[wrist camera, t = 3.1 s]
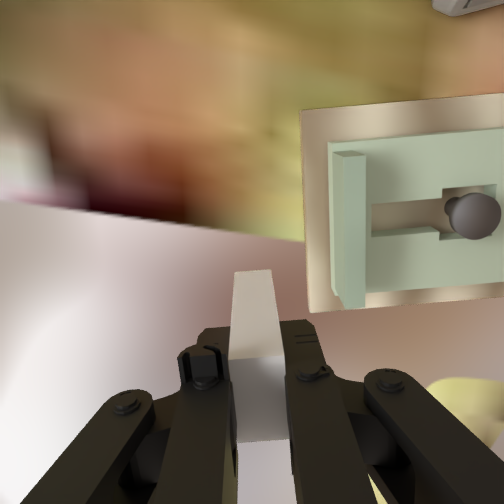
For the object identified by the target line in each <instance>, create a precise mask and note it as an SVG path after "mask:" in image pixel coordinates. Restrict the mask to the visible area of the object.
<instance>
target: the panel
mask: <svg viewBox="0 0 504 504" xmlns="http://www.w3.org/2000/svg"><path fill="white" fill-rule="evenodd" d="M328 182H329V222H330V263H331V288H332V290H333V292H334V294H335V296H339V298H340V300H341V302H342V303H343V305H344V307H345V309H353V308H364V307H365V293H376V292H388V291H400V290H412V289H424V288H436V287H448V286H460V285H472V284H483V283H495V282H504V127H494V128H482V129H470V130H459V131H447V132H436V133H424V134H413V135H401V136H389V137H378V138H366V139H355V140H343V141H331V142H328ZM478 185H484V194H485V195H488V196H490V197H493V198H494V199H495V200H496V201H497V202H498V203H499V205H500V207H501V220H500V223H499V225H498V227H497V228H496V229H495V231H494V232H493V233H491V234H490V235H489V236H487V237H485V238H483V239H479V240H470V239H467V238H464V237H463V236H461V235H459V234H457V233H456V232H455V233H444V234H439V233H440V232H439V231H438V230H436V229H434V228H433V227H431V226H426V227H414V228H402V229H391V230H379V231H371V208H372V204H378V203H390V202H401V201H413V200H425V199H436V198H442V189H443V188H454V187H466V186H478Z"/></svg>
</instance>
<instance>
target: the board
mask: <svg viewBox="0 0 504 504" xmlns="http://www.w3.org/2000/svg"><path fill="white" fill-rule="evenodd" d="M299 116H300V139H301V161H302V184H303V206H304V229H305V252H306V273H307V297H308V308H309V311H310V313H316V312H329V311H340V310H352V309H345V307H344V305H343V303H342V302H341V300H340V298H339V296H335V294H334V292H333V290H332V288H331V263H330V222H329V182H328V142H331V141H343V140H355V139H366V138H378V137H389V136H401V135H413V134H424V133H436V132H447V131H459V130H470V129H482V128H494V127H504V93H495V94H483V95H472V96H460V97H449V98H437V99H426V100H414V101H403V102H391V103H380V104H368V105H357V106H345V107H334V108H322V109H311V110H299ZM500 220H501V207H500V205H499V203H498V202H497V201H496V200H495V199H494V198H493V197H490V196H488V195H485V194H484V185H478V186H466V187H454V188H443V189H442V198H436V199H425V200H413V201H401V202H390V203H378V204H372V208H371V231H379V230H391V229H402V228H414V227H426V226H431V227H433V228H434V229H436V230H438V231H439V232H440V233H439V234H444V233H455V232H456V233H457V234H459V235H461V236H463V237H464V238H467V239H470V240H479V239H483V238H485V237H487V236H489V235H490V234H491V233H493V232H494V231H495V229H496V228H497V227H498V225H499V223H500ZM496 297H504V282H495V283H483V284H472V285H460V286H448V287H436V288H424V289H412V290H400V291H388V292H376V293H365V307H364V308H376V307H388V306H400V305H411V304H424V303H435V302H447V301H460V300H471V299H483V298H496ZM364 308H353V309H364Z"/></svg>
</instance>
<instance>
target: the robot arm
mask: <svg viewBox="0 0 504 504" xmlns="http://www.w3.org/2000/svg"><path fill="white" fill-rule="evenodd" d="M177 360H178V366H179V372H180V379H181V387H180V390H179V391H178V392H176V393H174V394H172V395H169V396H167V397H164V398H160V399H157V400H153V399H152V395H151V394H150V393H148V392H147V391H144V390H140V389H137V390H127V391H123V392H120V393H118V394H116V395H114V396H112V397H111V398H110V399H108V400H107V401H106V402H105V403H104V404H103V405H102V406H101V408H100V409H99V410H98V411H97V412H96V414H95V415H94V416H93V417H92V419H91V420H90V421H89V422H88V423H87V424H86V426H85V427H84V428H83V429H82V430H81V431H80V433H79V434H78V435H77V436H76V438H75V439H74V440H73V441H72V442H71V443H70V445H69V446H68V447H67V448H66V449H65V451H64V452H63V453H62V454H61V455H60V457H59V458H58V459H57V460H56V461H55V462H54V464H53V465H52V466H51V467H50V468H49V470H48V471H47V472H46V473H45V475H44V476H43V477H42V478H41V479H40V480H39V482H38V483H37V484H36V485H35V486H34V488H33V489H32V490H31V491H30V492H29V493H28V495H27V496H26V497H25V498H24V499H23V501H22V502H21V503H20V504H237V491H238V451H237V442H238V443H243V442H256V441H270V440H283V439H290V453H291V467H292V475H293V476H294V484H295V492H296V500H297V504H378V503H377V500H376V497H375V494H374V491H373V488H372V485H371V482H370V479H369V476H370V477H371V479H372V480H373V482H374V483H375V485H376V486H377V488H378V489H379V491H380V492H381V494H382V496H383V497H384V499H385V500H386V502H387V503H388V504H504V462H503V461H502V460H501V459H500V458H499V457H498V456H497V455H496V454H495V453H494V452H493V451H491V450H490V449H489V448H488V447H487V446H486V445H485V444H484V443H483V442H482V441H481V440H480V439H479V438H477V437H476V436H475V435H474V434H473V433H472V432H471V431H470V430H469V429H468V428H467V427H466V426H465V425H463V424H462V423H461V422H460V421H459V420H458V419H457V418H456V417H455V416H454V415H453V414H452V413H451V412H449V411H448V410H447V409H446V408H445V407H444V406H443V405H442V404H441V403H440V402H439V401H438V400H437V399H435V398H434V397H433V396H432V395H431V394H430V393H429V392H428V391H427V390H426V389H425V388H424V387H422V386H421V385H420V384H419V383H418V382H417V381H416V380H415V379H414V378H413V377H411V376H410V375H408V374H407V373H405V372H402V371H399V370H396V369H386V368H385V369H376V370H374V371H371V372H369V373H368V374H367V375H366V376H365V378H364V383H363V382H355V381H349V380H345V379H342V378H340V377H337V376H336V375H335V374H334V372H333V370H332V369H331V367H330V366H328V365H327V364H326V362H325V358H324V356H323V352H322V349H321V346H320V343H319V340H318V337H317V333H316V331H315V327H314V325H312V324H311V323H310V322H309V321H307V320H306V319H305V320H304V319H303V320H291V321H279V319H278V312H277V306H276V299H275V293H274V287H273V280H272V275H271V270H270V269H269V270H256V271H244V272H235V276H234V289H233V303H232V315H231V326H229V327H217V328H206V329H205V330H204V331H203V332H202V333H201V334H200V335H199V336H198V340H197V344H196V345H193V346H191V347H188V348H186V349H185V350H184V351H182V352H181V353H180V354H179V356H178V357H177ZM236 440H237V441H236ZM368 474H369V476H368Z"/></svg>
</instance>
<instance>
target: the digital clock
mask: <svg viewBox="0 0 504 504" xmlns="http://www.w3.org/2000/svg"><path fill="white" fill-rule="evenodd" d="M431 2H432V7H433V9H434V10H436V11H439V12H441V13H443V14H445V15H448V16H451V17H454V16H459V15H463V14H467V13H471V12H475V11H479V10H482V9H486V8H490V7H493V6H497V5H500V4H504V0H431Z"/></svg>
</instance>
